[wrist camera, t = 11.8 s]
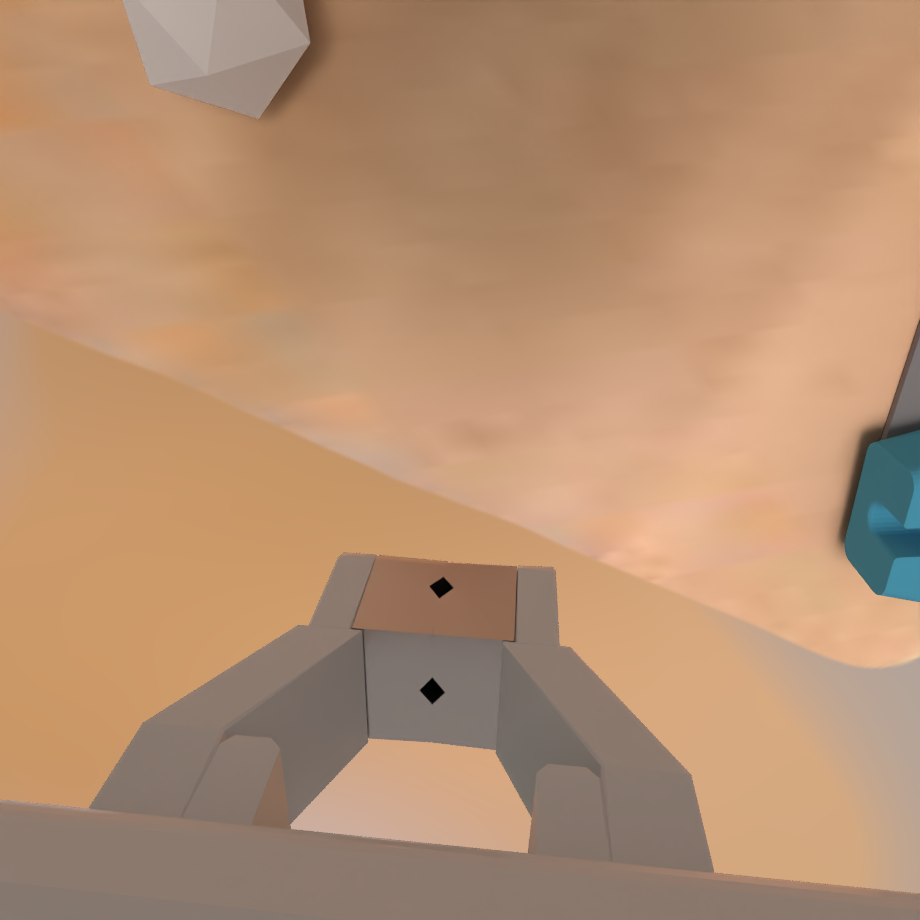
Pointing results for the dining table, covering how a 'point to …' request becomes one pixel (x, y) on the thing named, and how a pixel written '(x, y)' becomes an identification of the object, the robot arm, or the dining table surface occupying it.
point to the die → (220, 48)
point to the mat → (906, 396)
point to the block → (888, 518)
